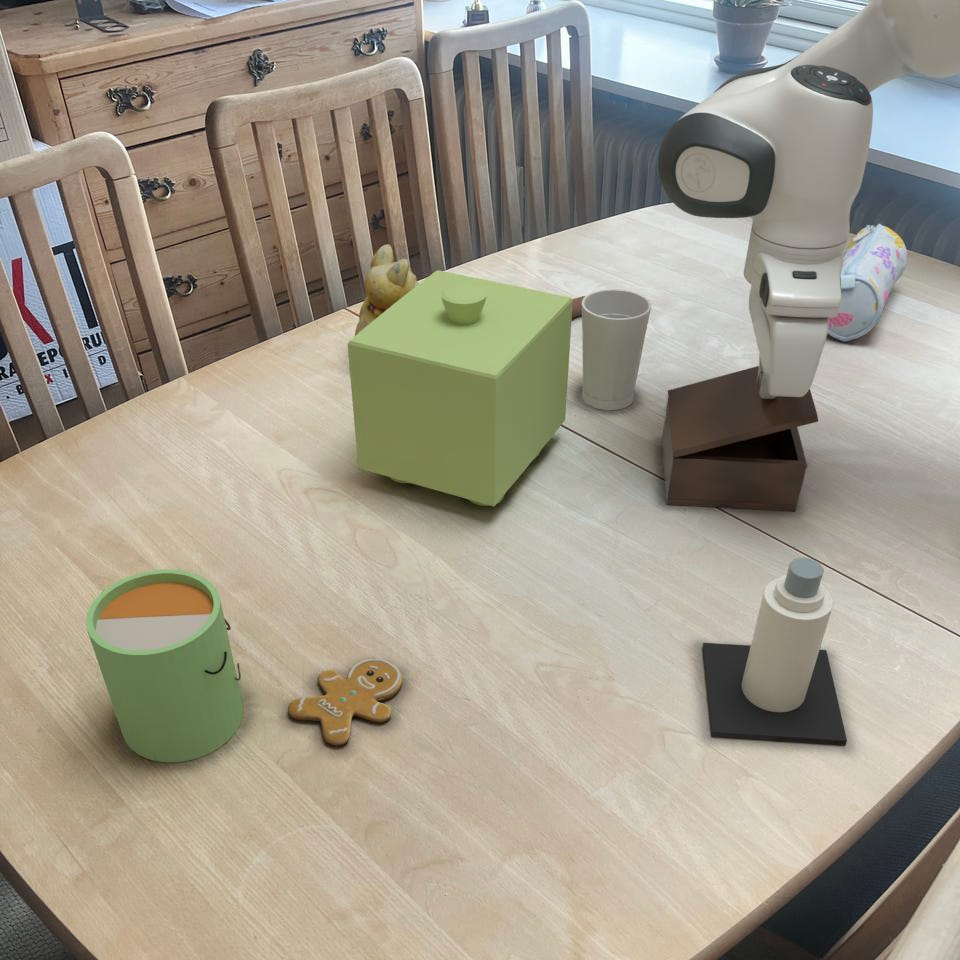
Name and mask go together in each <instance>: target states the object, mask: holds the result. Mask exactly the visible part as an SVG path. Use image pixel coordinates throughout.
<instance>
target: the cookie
mask: <svg viewBox="0 0 960 960" xmlns="http://www.w3.org/2000/svg"><path fill="white" fill-rule="evenodd" d="M317 682H318V685H319V686H320V688H321V689H322V691H323V693H324V695H317V696H309V697H299V698H296V699H294V700H292V701H291V702H289V704H288V706H287V713H288V714H289V716H290V717H291V718H293V719H295V720H297V721H298V720H299V721H314V722H319V723H320V726H321V733H322V736H323V739H324V741H325V742H326V743H327V744H329V745H332V746H342V745H345V744H346V743H347V742H348V741H349V739H350V737H351V734H352V732H351V731H352V720H353V717H358V718H361V719H364V720H368V721H371V722H374V723H384V722H386V721H388V720H390V717H391V716H392V708H391V707H390V706H389V705H388V704H386V703H383V702H380V701H385V700H388V699H391V698H392V697H393V696H395V695H396V694H397V693H398V692H399V690H400V689H401V688H402V685H403V674H402V672H401V670H400V669H399V668H398V667H397V665H395V664H393V663H391V662H390V661H388V660H385V659H382V658H368V659H364V660H361V661H359V662H357V663H355V664H354V665H353V666H352V667H351V668H350V669H349V671H348V673H347V676H346V678H343V677H342V675H341V674H340V673H339V672H338V671H337V670H334V669H326V670H323V671H321V672H320V674H318V677H317Z"/></svg>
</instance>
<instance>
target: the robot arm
mask: <svg viewBox="0 0 960 960" xmlns="http://www.w3.org/2000/svg"><path fill="white" fill-rule="evenodd" d="M958 74H960V0H870V1H869V2H868V3H867V5H865V6H864V7H863V8H862V9H861V10H860V11H859V12H858V13H857V14H855V15H854V16H852V18H850V19H848V20H847V21H846V22H844V23H843V24H841V25H840V26H839V27H837V28H836V29H834V30H833V31H832V32H830V33H829V34H827V35H826V36H824V37H823V38H821V39H820V40H818V41H817V42H815V43H814V44H813V45H811V46H809V47H808V48H807V49H805V50H804V51H802V52H801V53H800V54H798V55H796V56H795V57H793V58H792V59H790V60H787V61H786V62H784V63H781V64H777V65H773V66H767V67H760V68H754V69H749V70H745V71H742V72H740V73H738V74H735V75H733V76H731V77H730V78H728V79H727V80H725V81H724V82H722V84H721V85H720V86H719V87H718V88H717V89H716V90H715V91H714V92H713V93H712V94H710V95H709V96H707V97H706V98H705V99H703V100H702V101H700V102H699V103H698V104H697V105H695V106H693V108H691V109H690V110H688V111H687V112H686V113H684V114H683V115H682V116H681V117H680V118H679V119H677V120H676V122H674V123H673V124H672V125H671V126H670V128H668V130H667V132H666V133H665V135H664V137H663V139H662V141H661V144H660V146H659V151H658V158H657V168H658V169H657V170H658V176H659V178H660V179H659V180H660V183H661V185H662V188H663V190H664V192H665V194H666V195H667V198H669V200H670V201H671V202H672V203H673V205H675V206H676V207H677V208H678V209H680V211H683V212H684V213H686V214H689V215H691V216H693V217H694V216H695V217H699V218H708V219H710V218H711V219H742V218H743V219H744V218H751V219H752V223H751V229H750V233H749V239H748V245H747V249H746V251H747V252H746V256H745V262H744V268H743V277H744V279H745V280H746V282H747V283H748V284H750V285H751V286H750V290H749V297H748V311H749V315H750V319H751V324H752V328H753V332H754V336H755V337H754V338H755V341H756V346H757V349H758V366H759V371H758V376H757V386H758V389H759V395H760V397H761V398H763V399H774V398H776V397H777V396H781V397H803V396H804V395H805V394H806V393H807V392H808V390H809V389H810V390H811V387H812V385H813V383H814V379H815V376H816V372H817V370H818V367H819V364H820V360H821V357H822V354H823V351H824V348H825V344H826V341H827V336H828V333H827V332H828V326H829V318H832V317H836V316H837V315H838V312H839V309H840V305H841V299H842V296H841V276H840V275H841V271H842V266H843V262H844V253H845V251H846V249H847V246H848V241H849V236H850V230H851V226H850V225H851V223H850V216H851V215H850V214H851V209H852V206H853V203H854V201H855V200H856V197H857V196H858V194H859V192H860V190H861V187H862V182H863V178H864V174H865V169H866V165H867V160H868V155H869V150H870V144H871V138H872V131H873V121H874V118H873V117H874V104H873V98H872V95H871V92H873V91H875V90H876V89H878V88H880V87H882V86H883V85H885V84H886V83H889V82H891V81H893V80H895V79H898V78H901V77H904V76H907V75H908V76H909V75H920V76H923V77H926V78H931V79H947V78H950V77H952V76H955V75H958Z"/></svg>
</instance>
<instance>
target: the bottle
mask: <svg viewBox="0 0 960 960" xmlns="http://www.w3.org/2000/svg"><path fill="white" fill-rule="evenodd" d="M823 575H824V567H823V566H822V564H821V563H820V562H818V561H817V560H815V559H813V558H808V557H796V558H794V559H793V560H791V561H790V562H789V565H788V567H787V573H785V574H783V575H781V576H780V577H776V578H773V579H772V580H770V581H769V582H768V583H767V584H766V586H765V587H764V590H763V594H762V597H761V602H760V606H759V609H758V610H759V611H758V614H757V618H756V622H755V626H754V630H753V635H752V639H751V643H750V646H751V647H750V651H749V655H748V659H747V663H746V668H745V672H744V676H743V680H742V691H743V693H744V695H745V696H746V698H747V699H748V700H749V701H750V702H751V703H753V704H754V705H756V706H757V707H759V708H761V709H764V710H767V711H772V712H788V711H792V710H794V709H796V708H798V707H799V706H800V705H801V704H802V703H803V701H804V699H805V696H806V693H807V689H808V686H809V683H810V680H811V676H812V673H813V670H814V666H815V663H816V660H817V656H818V653H819V650H821V646H822V644H823V640H824V636H825V633H826V630H827V626H828V623H829V620H830V616H831V613H832V610H833V608H834V599H833V596H832V595H831V593H830V591H829V590H828V589H827V588H826V587H825V585H824V583H822V579H823Z"/></svg>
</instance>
